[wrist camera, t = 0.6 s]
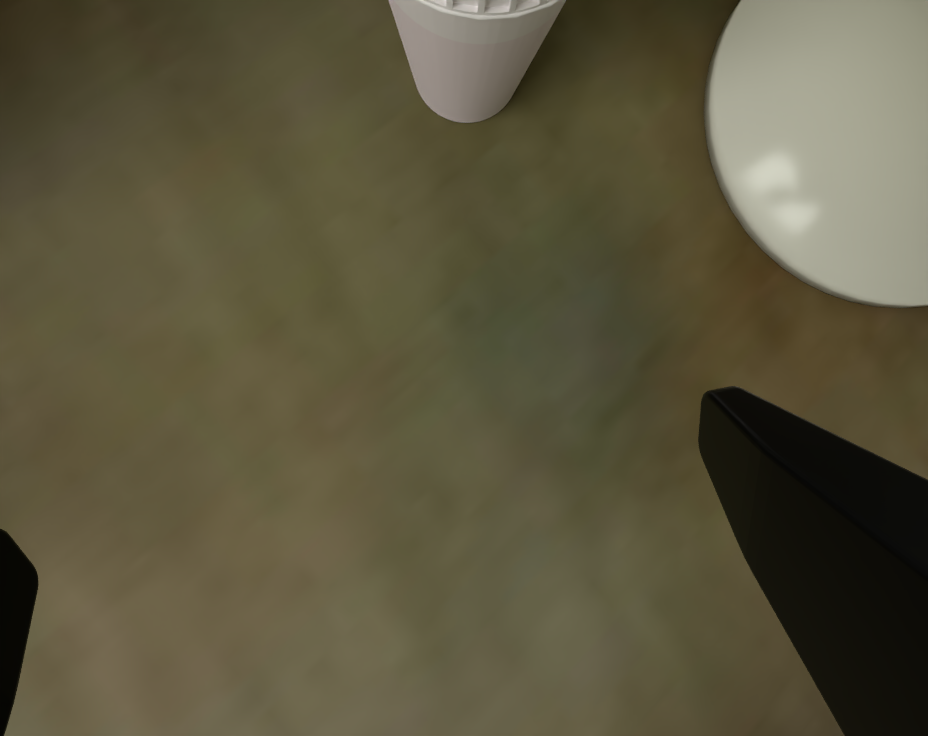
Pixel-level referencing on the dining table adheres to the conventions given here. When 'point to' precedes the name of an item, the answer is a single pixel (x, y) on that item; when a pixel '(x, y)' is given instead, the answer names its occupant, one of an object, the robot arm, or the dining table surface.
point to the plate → (827, 141)
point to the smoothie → (471, 50)
